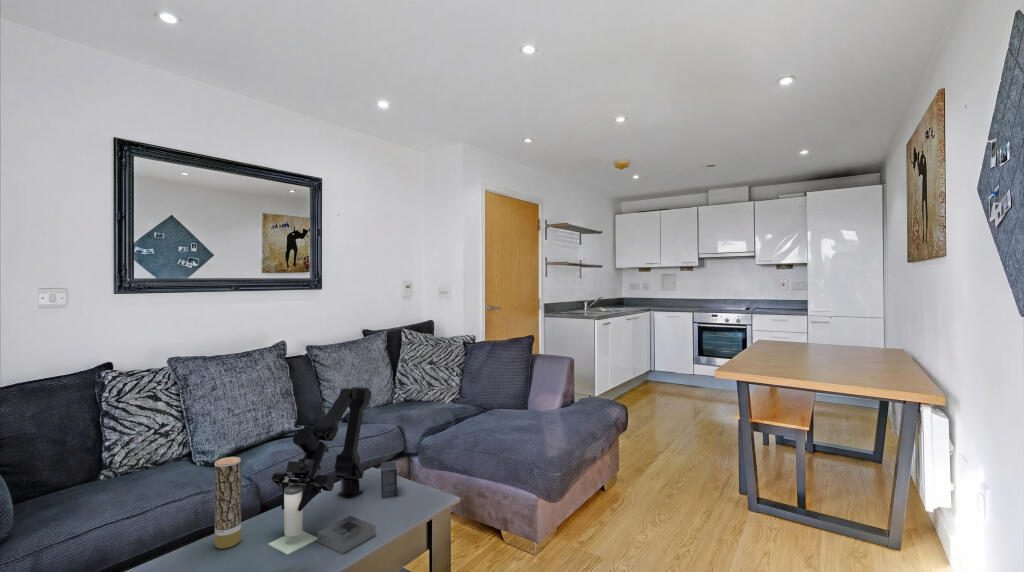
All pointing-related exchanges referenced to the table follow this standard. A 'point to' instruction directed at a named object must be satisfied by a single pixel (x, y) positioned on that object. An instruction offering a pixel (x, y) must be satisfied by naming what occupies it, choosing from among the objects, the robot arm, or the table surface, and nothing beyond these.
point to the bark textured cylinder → (227, 502)
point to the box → (388, 479)
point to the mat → (292, 542)
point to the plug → (293, 510)
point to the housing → (342, 544)
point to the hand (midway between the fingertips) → (290, 510)
